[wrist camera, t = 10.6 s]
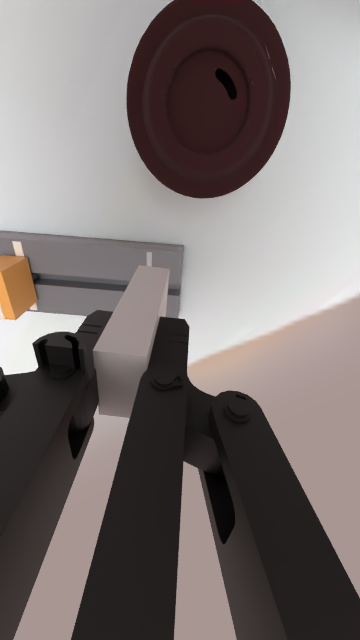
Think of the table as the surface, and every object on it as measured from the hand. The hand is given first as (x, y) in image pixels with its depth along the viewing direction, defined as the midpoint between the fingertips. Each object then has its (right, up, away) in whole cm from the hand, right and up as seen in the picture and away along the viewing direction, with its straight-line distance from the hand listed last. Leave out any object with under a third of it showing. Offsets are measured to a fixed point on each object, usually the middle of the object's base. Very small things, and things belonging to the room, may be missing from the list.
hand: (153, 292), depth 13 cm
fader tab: (-19, +5, +22) cm, 29 cm away
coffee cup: (+4, +18, +14) cm, 24 cm away
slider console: (-10, +5, +23) cm, 26 cm away
